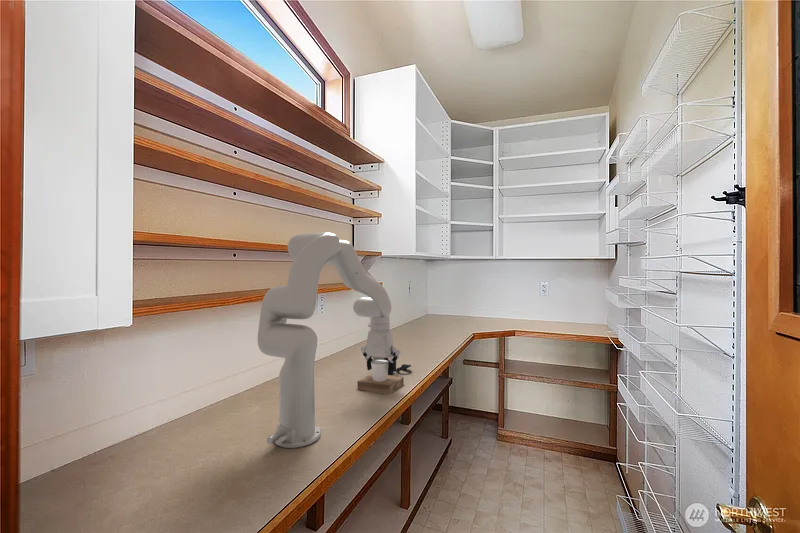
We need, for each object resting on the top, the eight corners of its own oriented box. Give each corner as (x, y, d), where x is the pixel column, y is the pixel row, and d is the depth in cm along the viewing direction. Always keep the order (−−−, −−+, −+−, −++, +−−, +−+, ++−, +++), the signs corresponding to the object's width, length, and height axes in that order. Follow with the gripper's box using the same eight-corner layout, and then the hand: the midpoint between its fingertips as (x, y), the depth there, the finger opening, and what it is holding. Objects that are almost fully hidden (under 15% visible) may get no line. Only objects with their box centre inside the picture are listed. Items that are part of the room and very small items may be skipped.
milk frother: (368, 374, 160) (367, 340, 160) (390, 365, 172) (390, 334, 172) (393, 380, 151) (392, 344, 151) (415, 370, 164) (414, 338, 163)
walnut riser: (389, 394, 134) (389, 386, 134) (357, 389, 141) (357, 381, 141) (403, 384, 145) (403, 377, 145) (373, 380, 151) (373, 372, 151)
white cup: (388, 382, 139) (388, 363, 139) (370, 382, 140) (370, 363, 139) (389, 376, 146) (388, 359, 146) (372, 376, 146) (371, 359, 146)
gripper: (356, 327, 143) (356, 370, 143) (395, 330, 136) (396, 376, 136) (366, 324, 150) (366, 365, 150) (404, 327, 142) (404, 370, 142)
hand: (380, 370), depth 143 cm, fingers open, 9 cm apart
